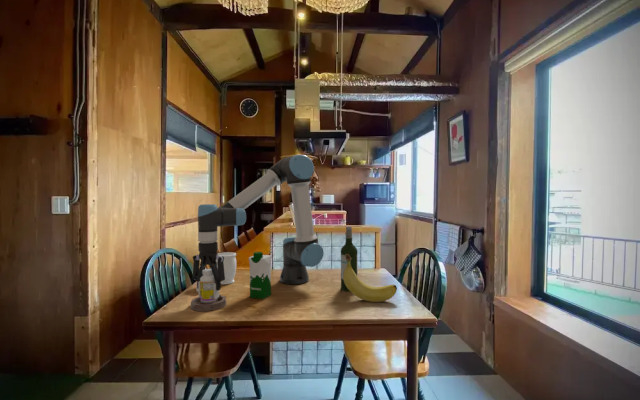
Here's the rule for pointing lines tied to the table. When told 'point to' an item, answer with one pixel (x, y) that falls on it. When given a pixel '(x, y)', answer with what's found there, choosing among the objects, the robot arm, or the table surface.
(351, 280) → the banana
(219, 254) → the jar
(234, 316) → the table surface
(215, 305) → the dish
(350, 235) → the wine bottle
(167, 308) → the table surface
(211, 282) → the supplement bottle
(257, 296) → the milk carton
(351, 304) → the table surface
